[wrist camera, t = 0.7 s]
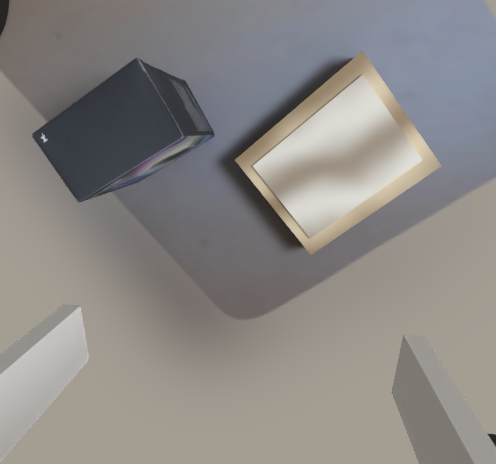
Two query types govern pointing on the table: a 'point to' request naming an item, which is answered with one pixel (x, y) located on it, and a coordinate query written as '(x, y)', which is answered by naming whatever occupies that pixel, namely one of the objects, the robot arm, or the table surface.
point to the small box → (123, 130)
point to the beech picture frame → (338, 156)
